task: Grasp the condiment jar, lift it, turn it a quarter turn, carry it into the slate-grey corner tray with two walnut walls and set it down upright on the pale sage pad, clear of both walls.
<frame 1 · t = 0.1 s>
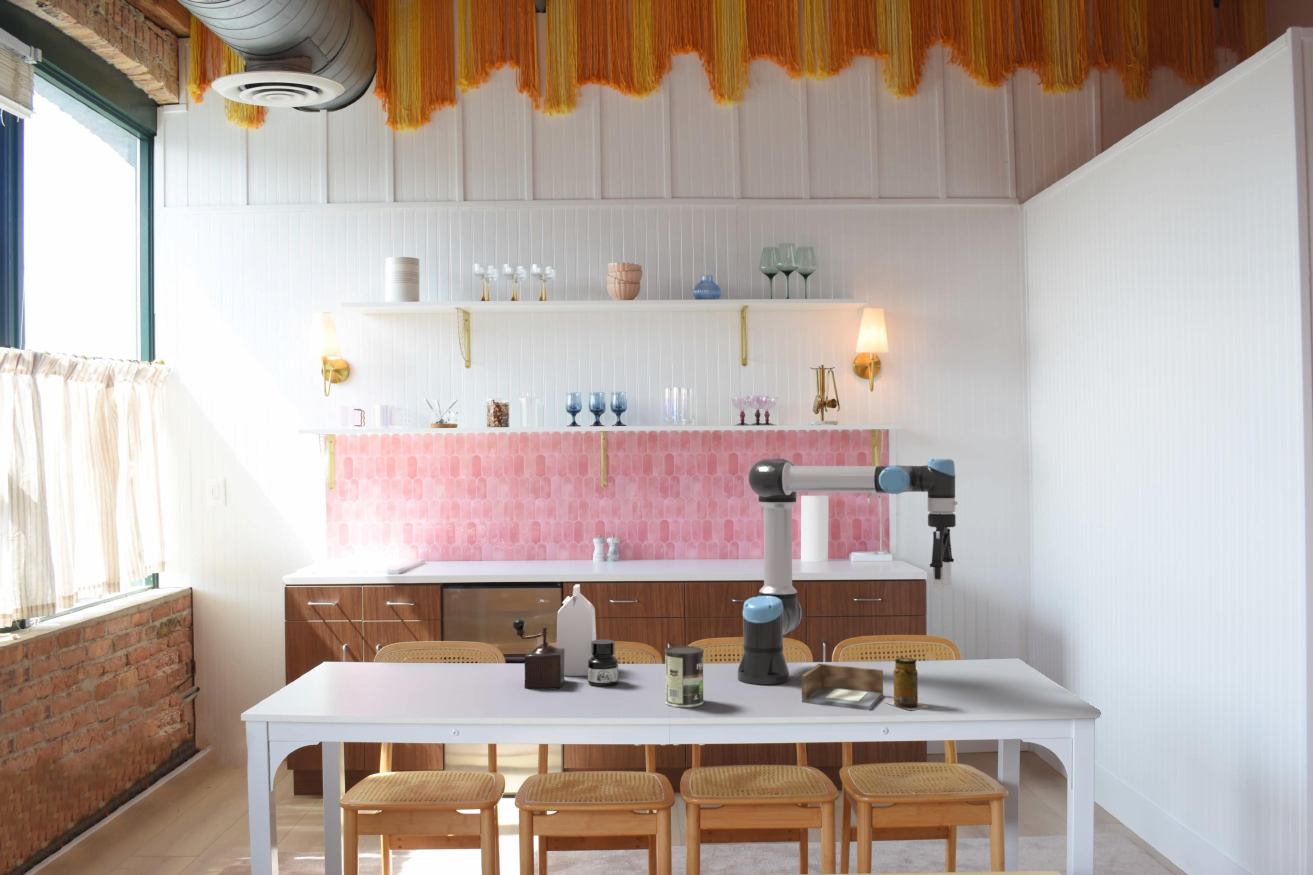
hand: (942, 587, 261), 28 cm above the table, fingers open, 13 cm apart
milk: (576, 671, 282), on the table
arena: (843, 698, 248), on the table
manual coffee grinder: (536, 684, 266), on the table
ink bottle: (603, 683, 266), on the table
coffee can: (684, 703, 245), on the table
condiment: (907, 706, 241), on the table
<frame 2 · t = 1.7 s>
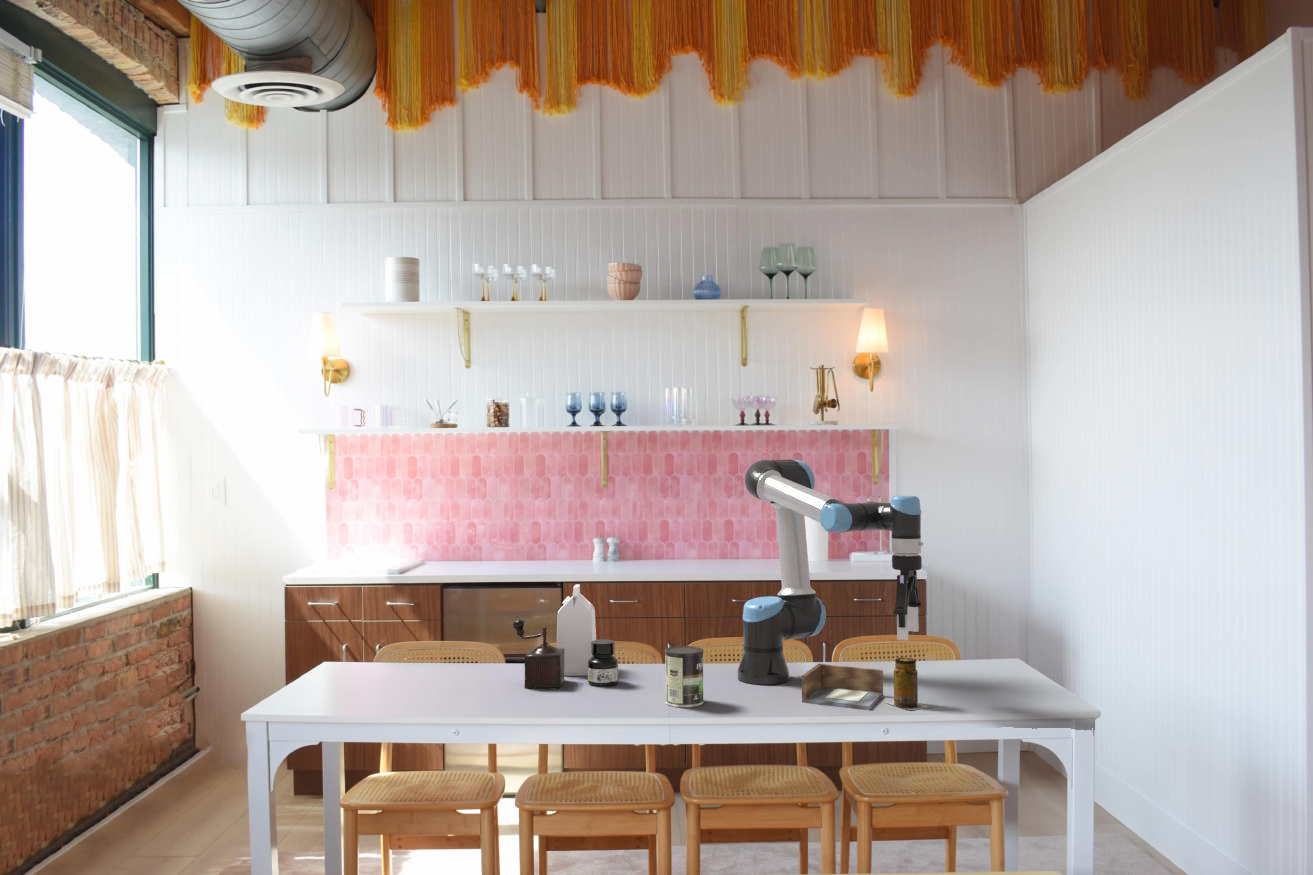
hand: (908, 635, 242), 18 cm above the table, fingers open, 13 cm apart
nothing on the table moved.
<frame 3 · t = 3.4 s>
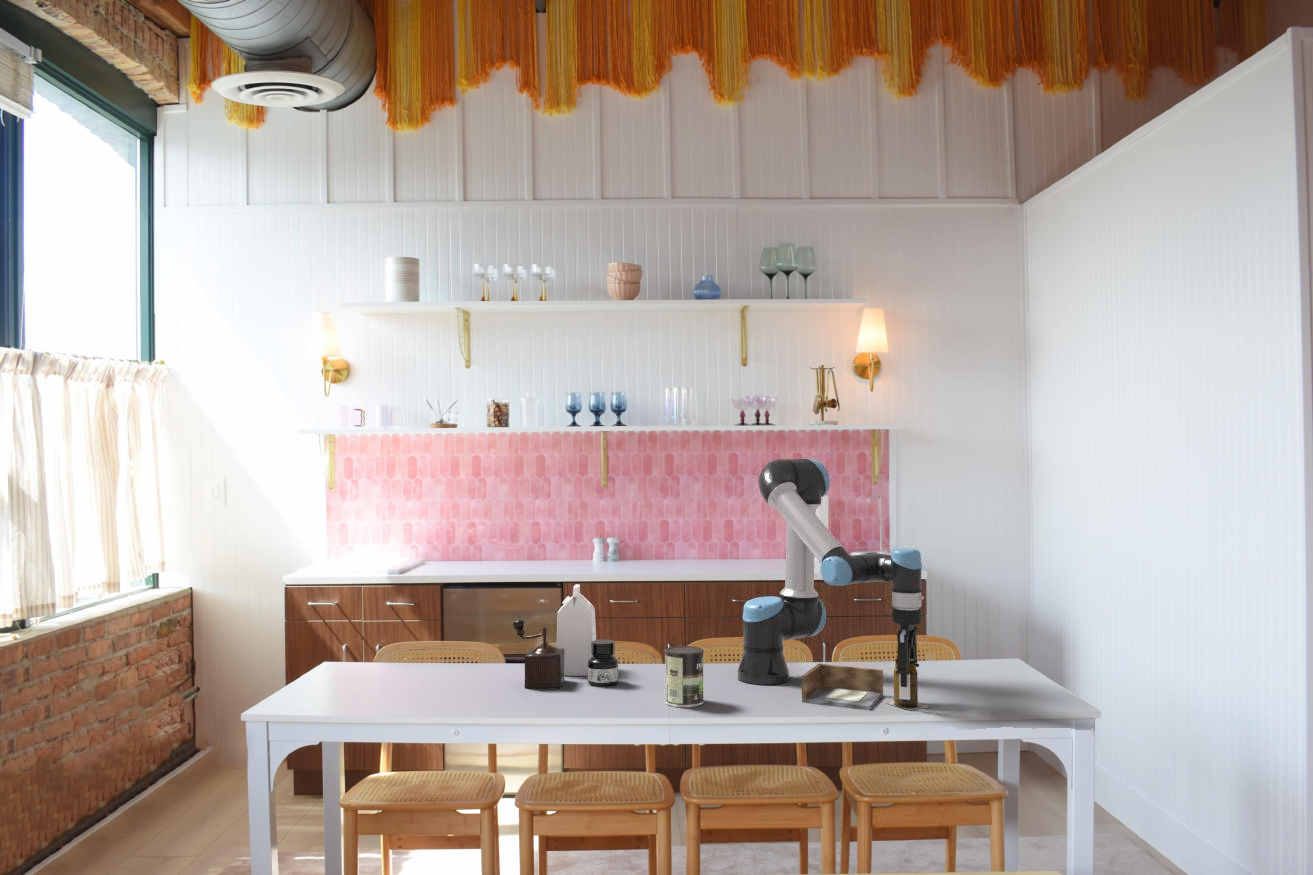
hand: (907, 695, 241), 3 cm above the table, fingers open, 7 cm apart
condiment: (907, 706, 241), on the table, touching gripper
everything else where it was.
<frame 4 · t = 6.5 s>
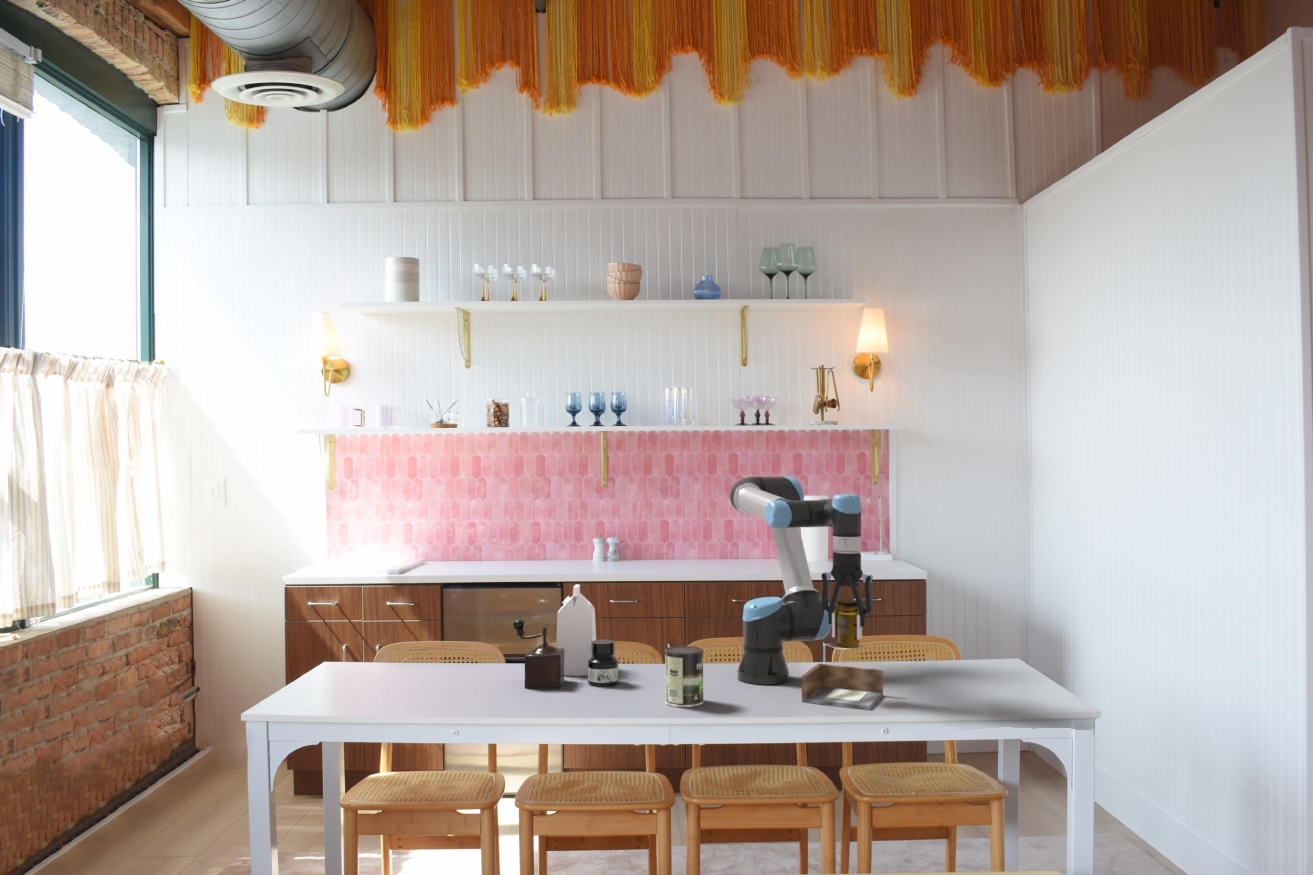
hand: (846, 637, 248), 17 cm above the table, fingers closed on condiment, 6 cm apart
condiment: (844, 646, 248), point 14 cm above the table, touching gripper
everything else where it was.
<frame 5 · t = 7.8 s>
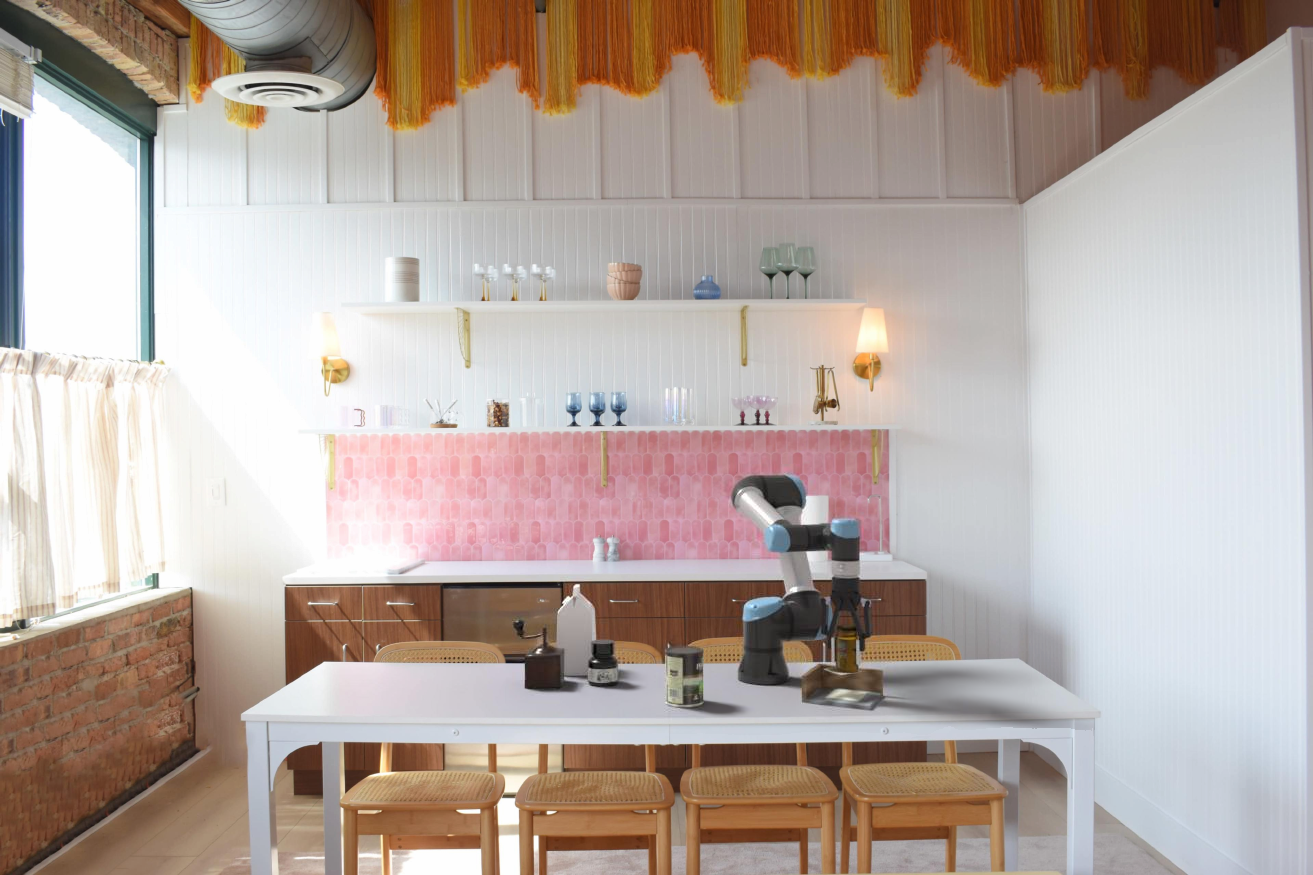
hand: (846, 662, 248), 10 cm above the table, fingers closed on condiment, 6 cm apart
condiment: (844, 671, 248), point 7 cm above the table, touching gripper
everything else where it was.
when the fingers open (5 cm above the table, at t = 9.1 s): condiment drops 1 cm, resting on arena.
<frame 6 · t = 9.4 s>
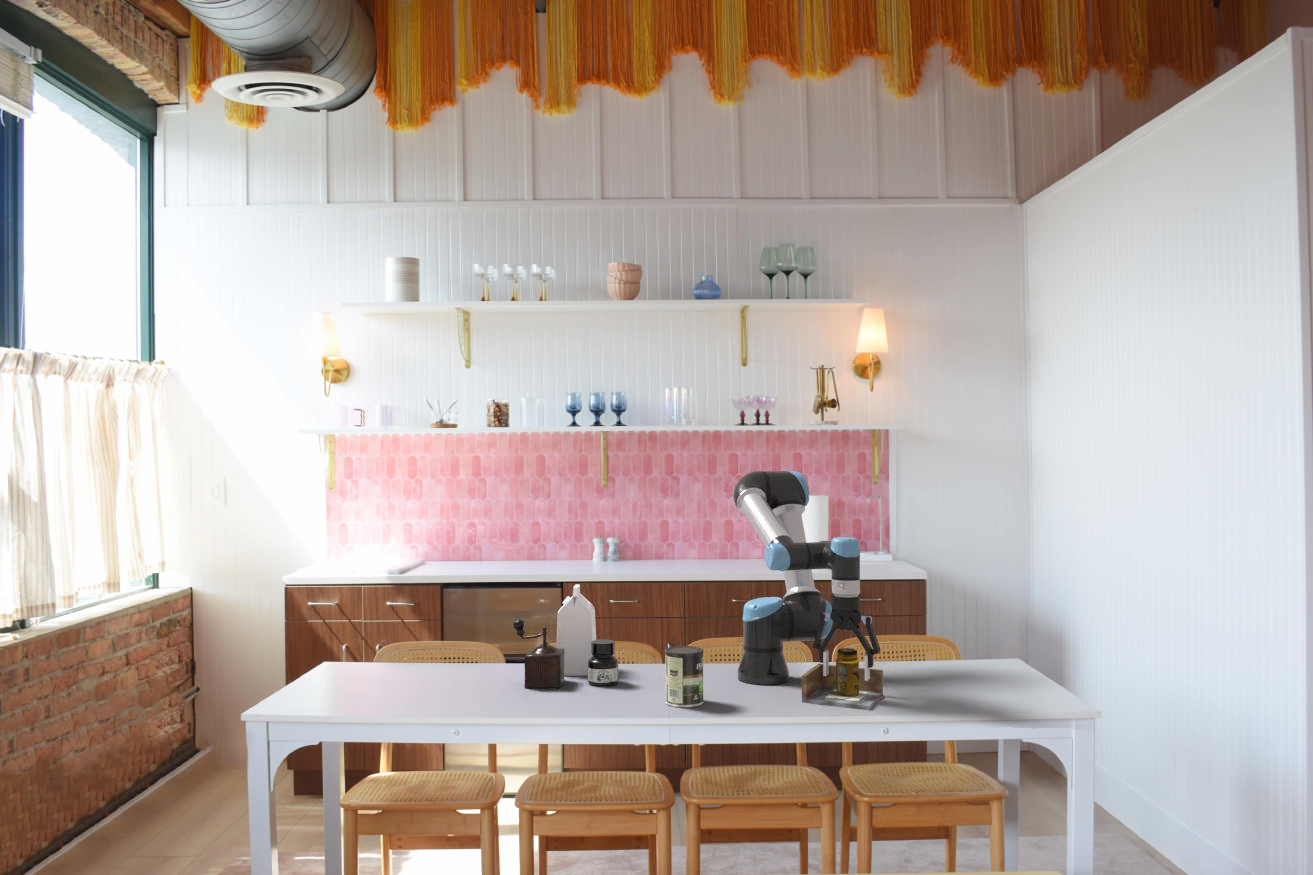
hand: (846, 677, 248), 6 cm above the table, fingers open, 10 cm apart
condiment: (844, 695, 248), point 1 cm above the table, touching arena
everything else where it was.
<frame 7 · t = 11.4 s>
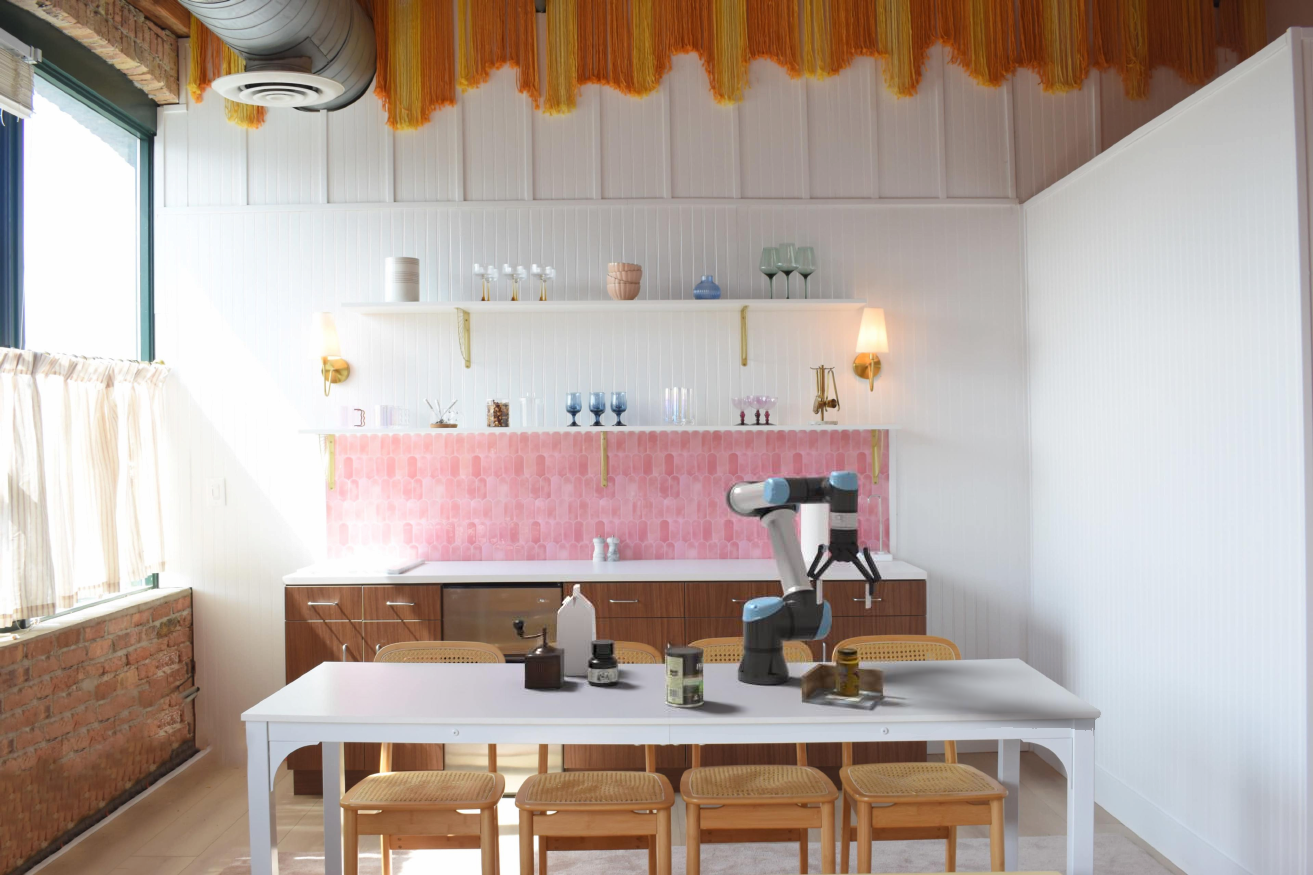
hand: (843, 605, 251), 25 cm above the table, fingers open, 13 cm apart
nothing on the table moved.
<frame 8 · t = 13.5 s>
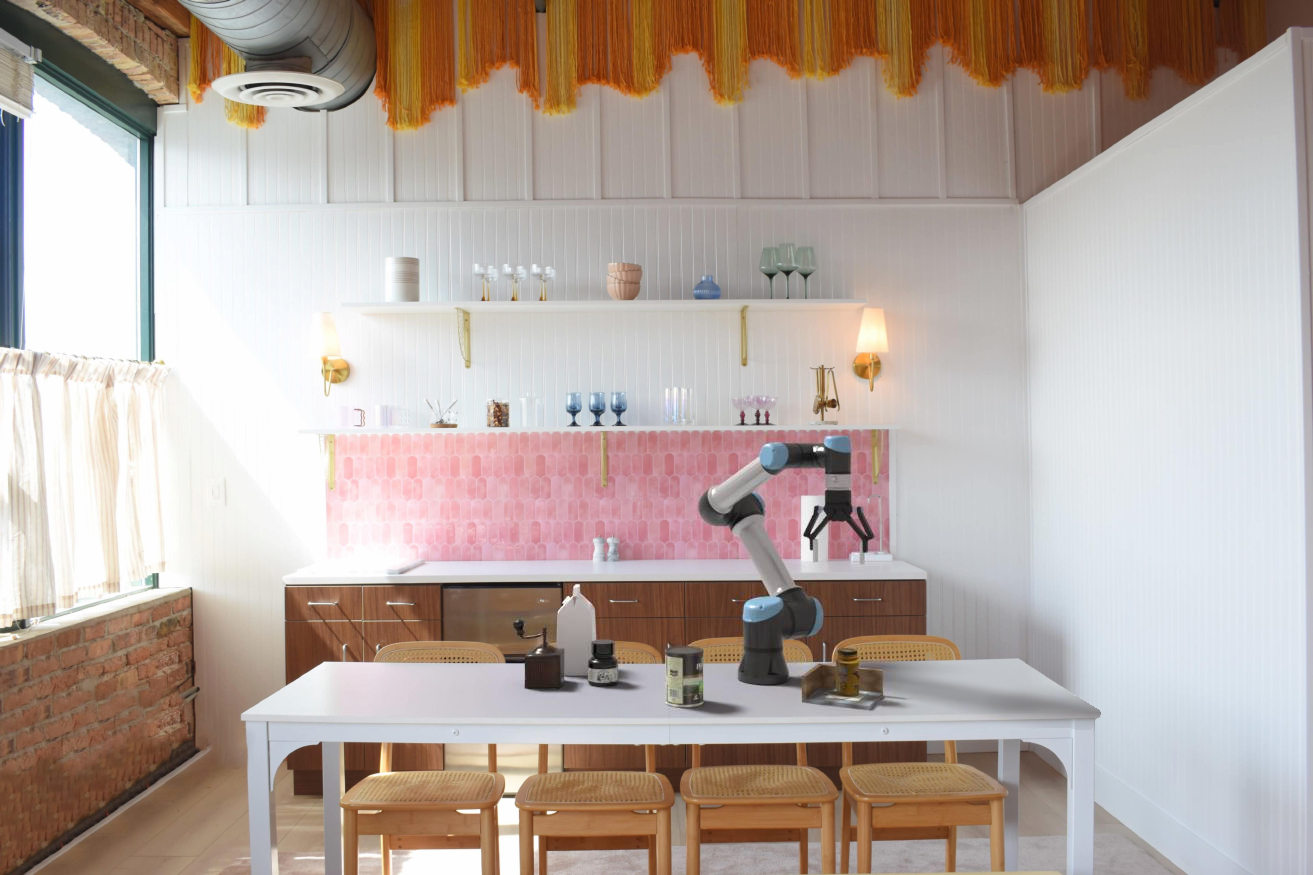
hand: (838, 563, 264), 35 cm above the table, fingers open, 13 cm apart
nothing on the table moved.
at the end: condiment inside the target area on the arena (3.0 cm from its centre), point 1.0 cm above the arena's base; condiment tilted 0°; the gripper is holding nothing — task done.
